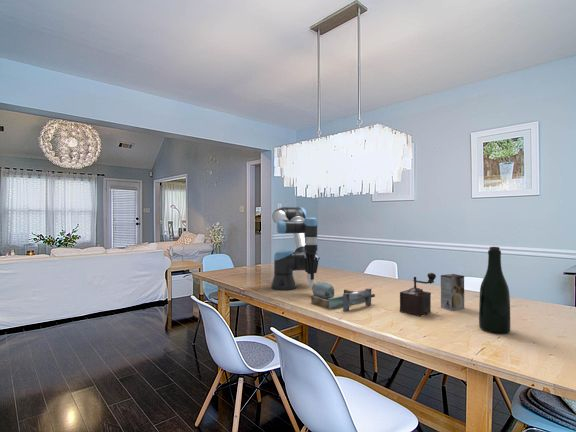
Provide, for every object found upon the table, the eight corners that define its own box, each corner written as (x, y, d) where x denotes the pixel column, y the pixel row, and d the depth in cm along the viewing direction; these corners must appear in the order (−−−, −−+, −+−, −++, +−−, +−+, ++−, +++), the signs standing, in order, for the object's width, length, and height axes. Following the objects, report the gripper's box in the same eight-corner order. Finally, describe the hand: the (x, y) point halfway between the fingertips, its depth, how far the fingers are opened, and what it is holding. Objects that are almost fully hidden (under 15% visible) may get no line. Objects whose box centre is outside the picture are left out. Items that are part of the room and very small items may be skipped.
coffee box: (453, 305, 163) (453, 273, 162) (464, 308, 157) (464, 275, 157) (440, 307, 159) (440, 274, 159) (451, 311, 153) (451, 277, 153)
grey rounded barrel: (340, 292, 176) (331, 276, 175) (330, 302, 171) (321, 287, 170) (324, 293, 187) (316, 278, 186) (314, 303, 181) (305, 288, 180)
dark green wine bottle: (515, 331, 126) (515, 247, 126) (502, 336, 120) (502, 248, 120) (487, 323, 135) (487, 245, 135) (473, 328, 129) (473, 246, 129)
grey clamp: (342, 309, 154) (342, 293, 154) (370, 302, 167) (370, 287, 167) (347, 311, 151) (347, 294, 151) (376, 304, 164) (376, 288, 164)
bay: (311, 302, 167) (311, 293, 167) (345, 295, 182) (345, 286, 182) (330, 309, 155) (330, 298, 155) (365, 300, 170) (365, 291, 170)
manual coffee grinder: (421, 317, 143) (421, 276, 143) (399, 311, 152) (399, 273, 152) (437, 310, 153) (438, 272, 153) (415, 305, 162) (416, 269, 162)
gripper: (298, 243, 190) (298, 283, 189) (313, 245, 179) (313, 287, 179) (308, 243, 194) (308, 282, 194) (323, 244, 184) (323, 286, 183)
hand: (310, 284), depth 186 cm, fingers closed
